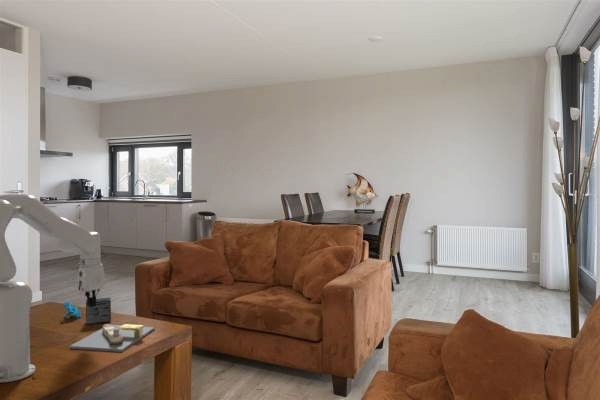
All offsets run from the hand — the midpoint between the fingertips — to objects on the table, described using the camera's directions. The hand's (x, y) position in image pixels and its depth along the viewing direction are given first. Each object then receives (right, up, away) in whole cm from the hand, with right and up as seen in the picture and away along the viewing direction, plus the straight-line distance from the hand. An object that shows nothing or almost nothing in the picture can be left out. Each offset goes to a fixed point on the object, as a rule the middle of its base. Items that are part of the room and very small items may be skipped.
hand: (91, 306), depth 177 cm
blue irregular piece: (-24, -13, +30) cm, 41 cm away
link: (+8, -13, +1) cm, 15 cm away
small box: (-8, -14, +24) cm, 29 cm away
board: (+9, -14, +2) cm, 17 cm away
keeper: (+16, -13, +2) cm, 21 cm away
